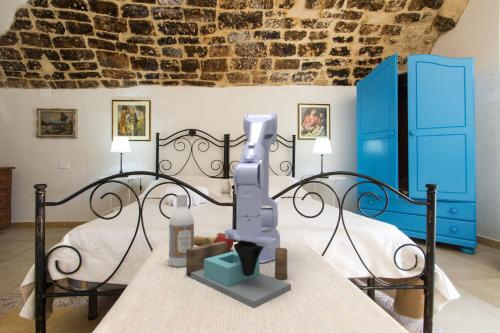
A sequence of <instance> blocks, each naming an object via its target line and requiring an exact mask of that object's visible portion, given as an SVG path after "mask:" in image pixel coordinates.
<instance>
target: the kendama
mask: <svg viewBox="0 0 500 333" xmlns="http://www.w3.org/2000/svg"><path fill="white" fill-rule="evenodd" d="M221 241H224V242H227V253H229V252H231V250H232V248H234V239H231V238H229V239H227V238H225V233H223V232H218V233H217V234H216V236H214V237H213V238H212V237H211V236H207V237H204V236H197V235H196V236H195V235H194V245H208V244H212V243H217V242H221Z"/></svg>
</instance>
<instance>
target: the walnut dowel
mask: <svg viewBox="0 0 500 333" xmlns="http://www.w3.org/2000/svg"><path fill="white" fill-rule="evenodd" d="M274 261H275V262H274V278H275V279H278V280H281V281H283V280H284V281H285V280H287V279H288V249H287V248H285V247H280V248H276V249H275V259H274Z"/></svg>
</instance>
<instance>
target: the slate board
mask: <svg viewBox="0 0 500 333" xmlns="http://www.w3.org/2000/svg"><path fill="white" fill-rule="evenodd" d="M185 271H186V270H185ZM185 273H186V274H187V275H188V276H187V275H186V274H185V275H186V276H187V277H189V276H190V275H191V277H190V278H191V279H194V280H195V281H197V282H199V283H202V284H203V285H206V286H208V287H210V288H212V289H214V290H216V291H219V292H221V293H223V294H225V295H227V296H228V297H230V298H233V299H235V300H237V301H238V302H241V303H243V304H244V305H247V306H249V307H251V308H257V307H258V306H260V305H263V304H264V303H267V302H268V301H271V300H272V299H274V298H277V297H278V296H280V295H283V294H285V293H287V292H289V291H291V290H292V283H289V282H286V281H285V280H284V281H283V280H278V279H276V278H275V277H272V276H270V275H266V274H263V273H260V272H259V275H257V276H255V277H252V278H250V279H247V280H244V281H242V282H239V283H236V284H234V285H231V286H229V287H228V286H226V285H224V284H221V283H219V282H217V281H215V280H212V279H210V278H208V277H206V276H204V269H201V270H198V271H194V272H191V273H190V272H188V271H186V272H185Z"/></svg>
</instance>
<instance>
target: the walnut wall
mask: <svg viewBox="0 0 500 333" xmlns="http://www.w3.org/2000/svg"><path fill="white" fill-rule="evenodd" d="M225 253H228V252H227V242H224V241H221V242H217V243H212V244H208V245H204V244H202V245H199V246H196V247H195V246H194V248H190V249H187V257H186V266H185V267H186V270H185V271H188V272H190V273H191V272H194V271H198V270H201V269H204V259H206V258H210V257H214V256H218V255H221V254H225ZM185 275H186V276H187V277H189V278H191V275H190V276H188V275H187V274H185Z"/></svg>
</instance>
